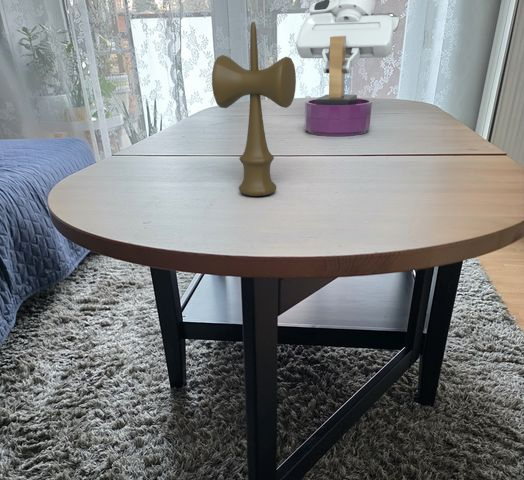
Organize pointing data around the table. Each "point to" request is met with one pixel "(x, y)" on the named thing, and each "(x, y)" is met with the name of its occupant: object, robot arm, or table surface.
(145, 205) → the table surface
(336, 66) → the brush
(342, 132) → the bowl
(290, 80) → the kendama
